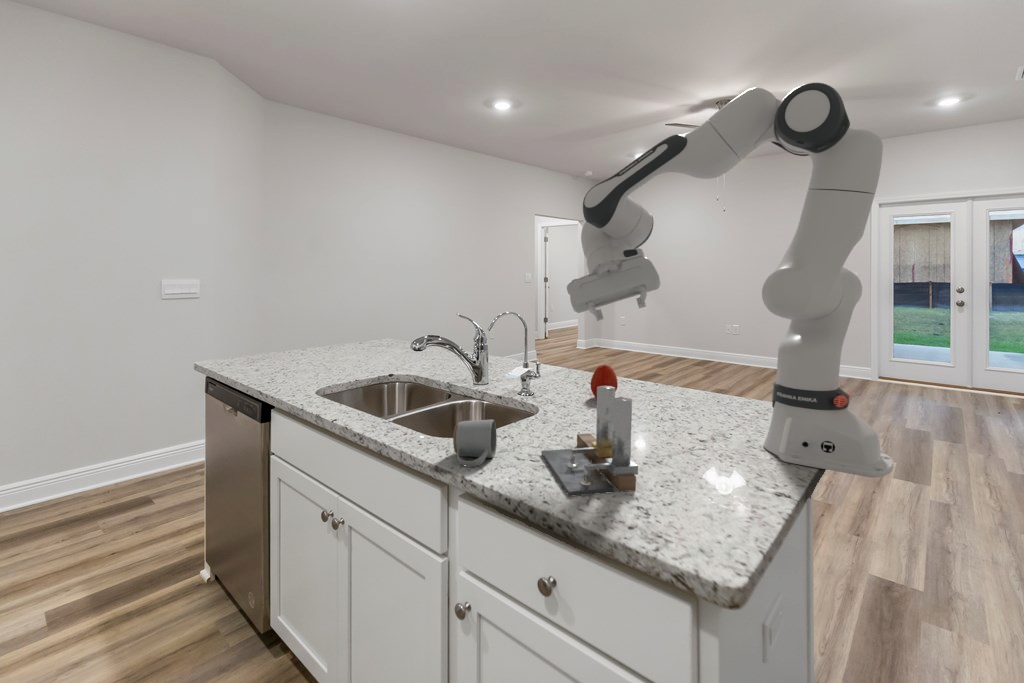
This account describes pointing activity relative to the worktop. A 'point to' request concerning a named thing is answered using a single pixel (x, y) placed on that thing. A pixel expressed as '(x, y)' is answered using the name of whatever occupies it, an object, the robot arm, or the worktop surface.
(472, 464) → the ceramic mug
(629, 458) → the fixed leg
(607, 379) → the red egg shape
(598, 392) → the sliding leg
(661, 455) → the worktop surface
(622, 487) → the rail
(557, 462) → the hole plate
